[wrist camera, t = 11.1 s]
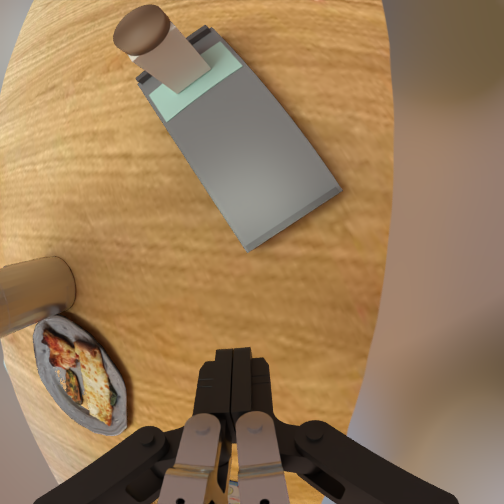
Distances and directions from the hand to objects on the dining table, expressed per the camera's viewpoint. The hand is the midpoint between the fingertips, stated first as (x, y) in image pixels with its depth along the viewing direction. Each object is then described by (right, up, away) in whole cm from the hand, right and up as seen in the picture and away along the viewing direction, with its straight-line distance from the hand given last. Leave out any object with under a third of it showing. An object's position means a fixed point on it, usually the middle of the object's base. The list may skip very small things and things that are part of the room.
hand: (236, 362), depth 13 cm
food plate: (-30, -18, +33) cm, 48 cm away
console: (-1, +19, +21) cm, 29 cm away
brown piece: (-7, +26, +18) cm, 33 cm away
